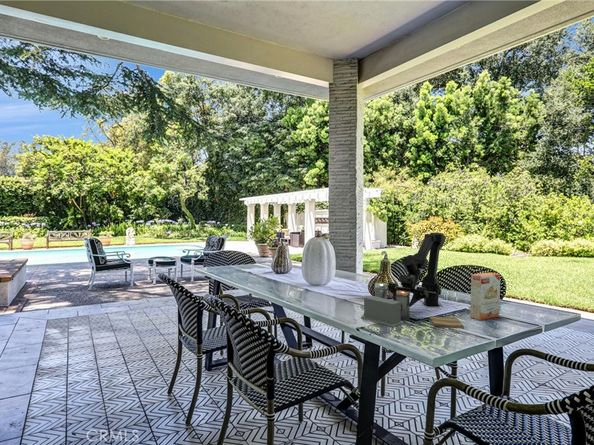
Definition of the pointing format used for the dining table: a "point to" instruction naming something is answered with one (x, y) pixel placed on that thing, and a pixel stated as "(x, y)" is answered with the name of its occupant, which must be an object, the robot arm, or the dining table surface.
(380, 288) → the steel cartridge
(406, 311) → the copper capped grey cylinder
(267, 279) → the dining table surface
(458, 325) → the walnut plate
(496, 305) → the cracker box
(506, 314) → the dining table surface
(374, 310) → the block
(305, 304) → the dining table surface
